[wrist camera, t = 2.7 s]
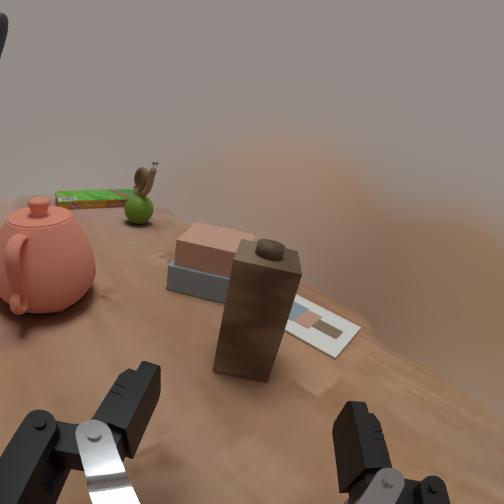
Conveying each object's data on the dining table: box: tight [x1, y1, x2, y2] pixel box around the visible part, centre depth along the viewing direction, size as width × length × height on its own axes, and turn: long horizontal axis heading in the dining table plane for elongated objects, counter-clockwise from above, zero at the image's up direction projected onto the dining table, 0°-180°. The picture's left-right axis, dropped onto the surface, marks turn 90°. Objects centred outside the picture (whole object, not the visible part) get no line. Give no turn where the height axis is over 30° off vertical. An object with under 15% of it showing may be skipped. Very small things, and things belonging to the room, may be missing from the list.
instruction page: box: [285, 295, 361, 359], centre depth 32 cm, size 10×8×1 cm
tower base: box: [166, 222, 255, 303], centre depth 36 cm, size 9×9×6 cm
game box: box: [56, 189, 137, 210], centre depth 59 cm, size 3×10×20 cm
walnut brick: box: [213, 239, 302, 383], centre depth 23 cm, size 4×4×11 cm
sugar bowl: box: [0, 197, 96, 315], centre depth 23 cm, size 12×14×10 cm
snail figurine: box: [125, 162, 158, 224], centre depth 49 cm, size 5×6×12 cm
